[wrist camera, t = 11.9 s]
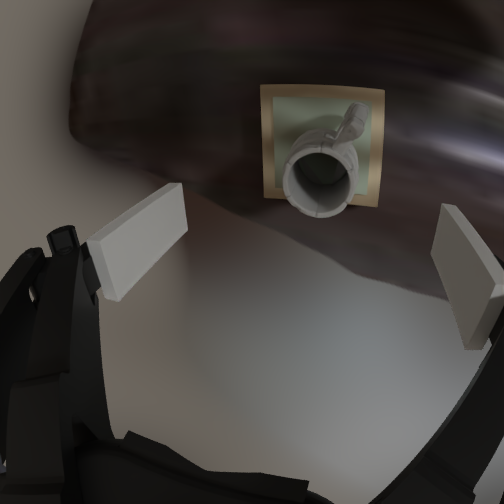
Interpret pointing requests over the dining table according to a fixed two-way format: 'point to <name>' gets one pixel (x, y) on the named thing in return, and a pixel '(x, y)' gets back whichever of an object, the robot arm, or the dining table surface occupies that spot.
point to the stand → (320, 116)
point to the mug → (340, 147)
